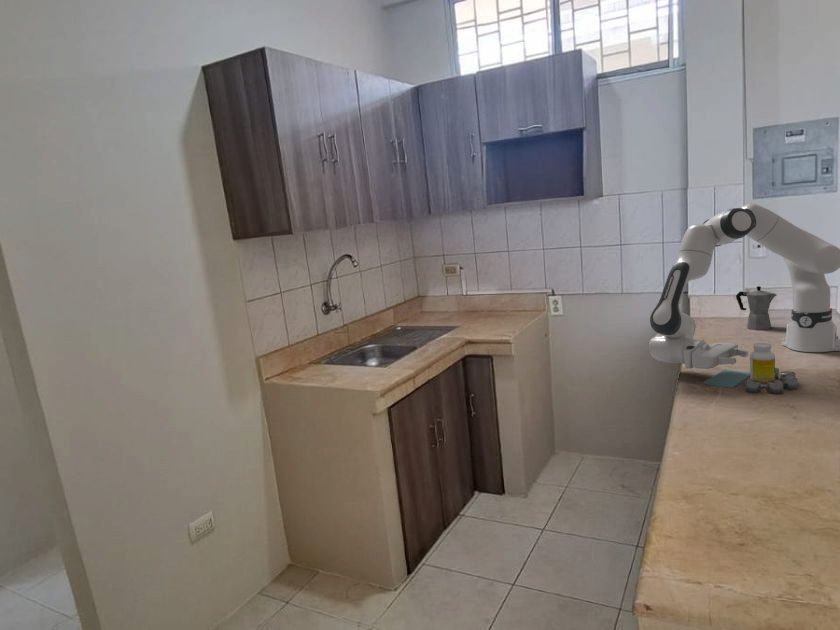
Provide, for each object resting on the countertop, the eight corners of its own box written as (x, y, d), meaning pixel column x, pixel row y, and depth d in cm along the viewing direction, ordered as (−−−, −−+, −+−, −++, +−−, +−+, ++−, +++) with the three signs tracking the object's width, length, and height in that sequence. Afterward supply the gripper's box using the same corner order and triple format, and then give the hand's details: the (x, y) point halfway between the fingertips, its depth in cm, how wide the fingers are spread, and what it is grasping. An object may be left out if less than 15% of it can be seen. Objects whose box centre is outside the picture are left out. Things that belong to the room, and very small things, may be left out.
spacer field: (767, 375, 183) (767, 366, 182) (808, 380, 174) (808, 371, 174) (743, 391, 171) (743, 382, 171) (785, 398, 162) (786, 388, 162)
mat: (724, 370, 192) (724, 369, 192) (753, 374, 185) (753, 373, 185) (703, 383, 182) (703, 382, 182) (733, 388, 175) (733, 386, 175)
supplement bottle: (778, 387, 172) (778, 346, 169) (754, 388, 173) (754, 348, 171) (770, 380, 178) (770, 341, 176) (747, 381, 180) (746, 342, 177)
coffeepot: (779, 326, 239) (779, 284, 236) (773, 331, 233) (773, 288, 229) (739, 324, 250) (739, 284, 247) (732, 328, 244) (732, 287, 240)
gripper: (711, 354, 196) (754, 359, 185) (683, 369, 183) (727, 375, 173) (710, 336, 195) (754, 340, 184) (682, 350, 182) (727, 355, 172)
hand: (741, 357), depth 178 cm, fingers open, 8 cm apart
